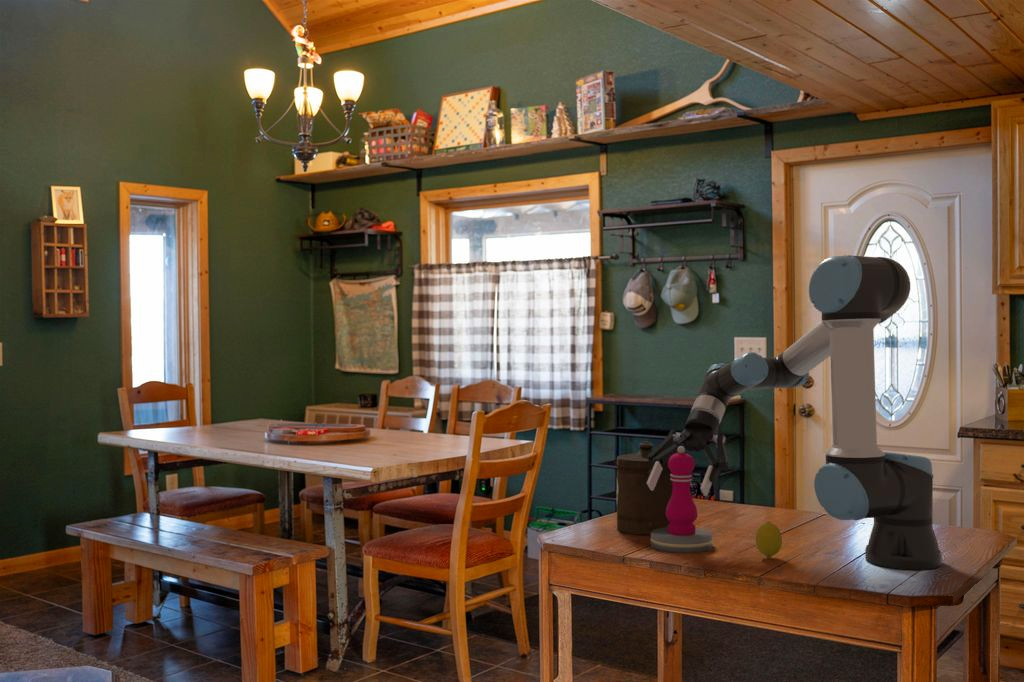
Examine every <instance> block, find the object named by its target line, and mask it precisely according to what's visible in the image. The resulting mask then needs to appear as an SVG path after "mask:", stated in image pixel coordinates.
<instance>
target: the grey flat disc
mask: <svg viewBox="0 0 1024 682" xmlns="http://www.w3.org/2000/svg"><path fill="white" fill-rule="evenodd" d="M650 547H651V548H652V549H655V550H658V551H661V552H662V551H663V552H666V553H667V552H668V553H676V554H677V553H679V554H681V553H682V554H690V553H691V554H693V553H702V552H708V551H710V550H711V549H713V533H712V531H710V530H707V529H704V528H700V527H699V528H698V527H695V534H693V535H686V536H683V535H673V534H669V533H668V527H664V528H658V529H654V530H652V531H651V535H650Z"/></svg>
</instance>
